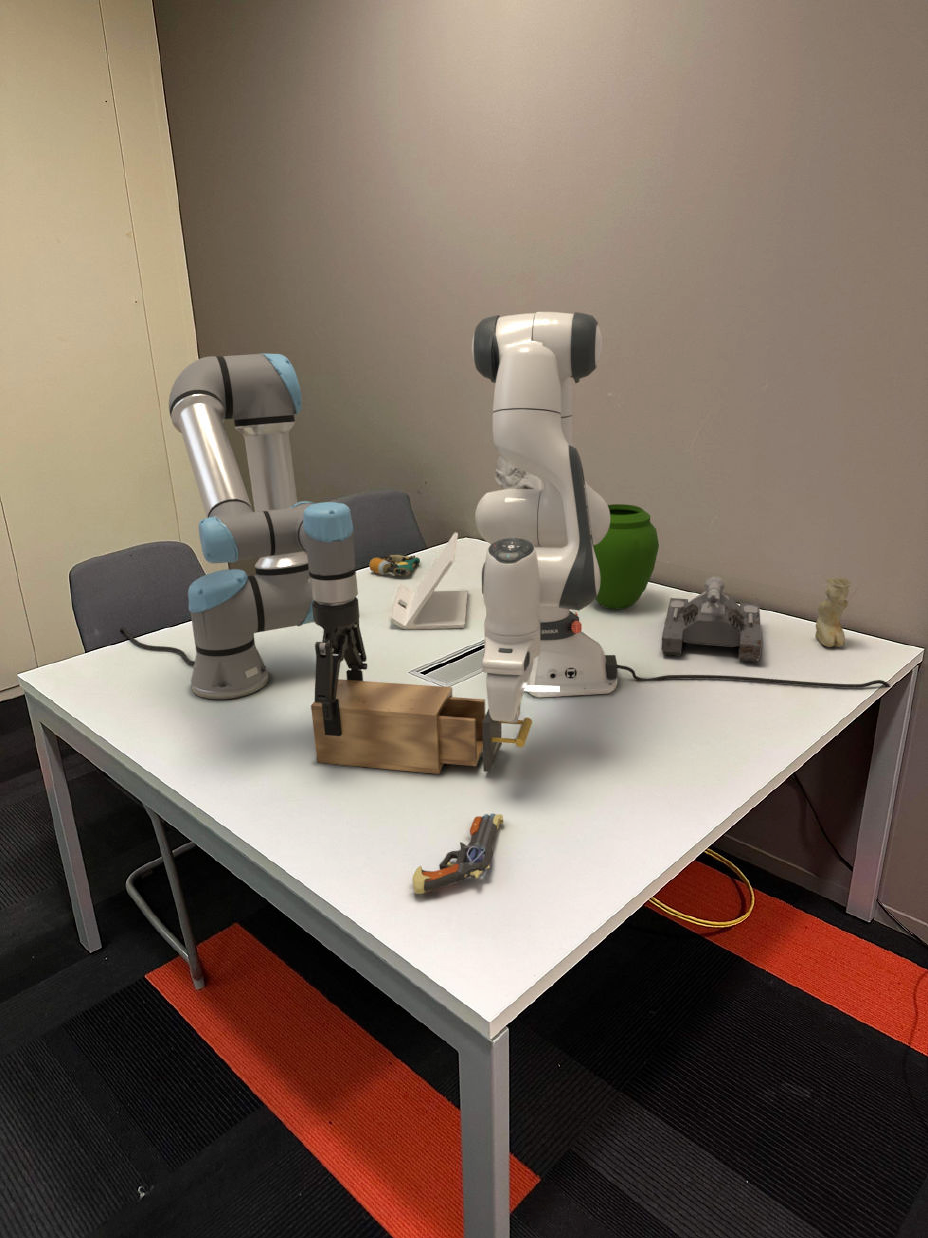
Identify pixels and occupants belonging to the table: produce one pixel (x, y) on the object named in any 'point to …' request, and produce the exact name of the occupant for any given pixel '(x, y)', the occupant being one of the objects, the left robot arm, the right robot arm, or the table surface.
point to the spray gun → (394, 564)
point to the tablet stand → (431, 599)
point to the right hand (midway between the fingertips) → (513, 718)
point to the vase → (626, 556)
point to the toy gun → (462, 857)
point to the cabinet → (383, 726)
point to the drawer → (473, 733)
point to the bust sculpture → (515, 477)
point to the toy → (713, 622)
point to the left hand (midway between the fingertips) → (345, 719)
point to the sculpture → (832, 613)
